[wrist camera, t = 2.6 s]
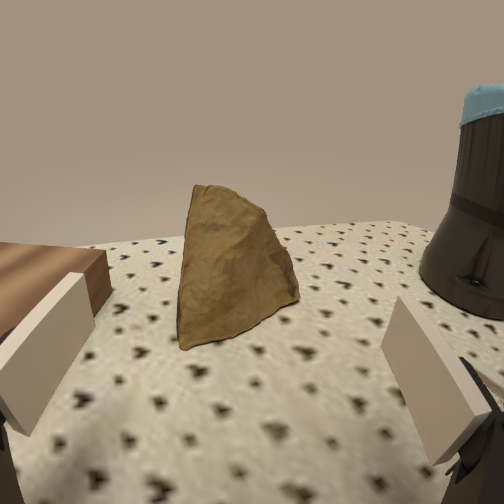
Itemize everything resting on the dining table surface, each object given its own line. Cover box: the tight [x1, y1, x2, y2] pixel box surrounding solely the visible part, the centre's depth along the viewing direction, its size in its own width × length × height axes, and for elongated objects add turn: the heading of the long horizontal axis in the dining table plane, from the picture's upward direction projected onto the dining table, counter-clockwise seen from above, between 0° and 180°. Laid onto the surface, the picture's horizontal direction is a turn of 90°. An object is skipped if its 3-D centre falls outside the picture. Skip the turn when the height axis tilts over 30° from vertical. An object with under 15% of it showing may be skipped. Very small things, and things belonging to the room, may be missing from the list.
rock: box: [176, 185, 300, 350], centre depth 22 cm, size 11×9×10 cm
